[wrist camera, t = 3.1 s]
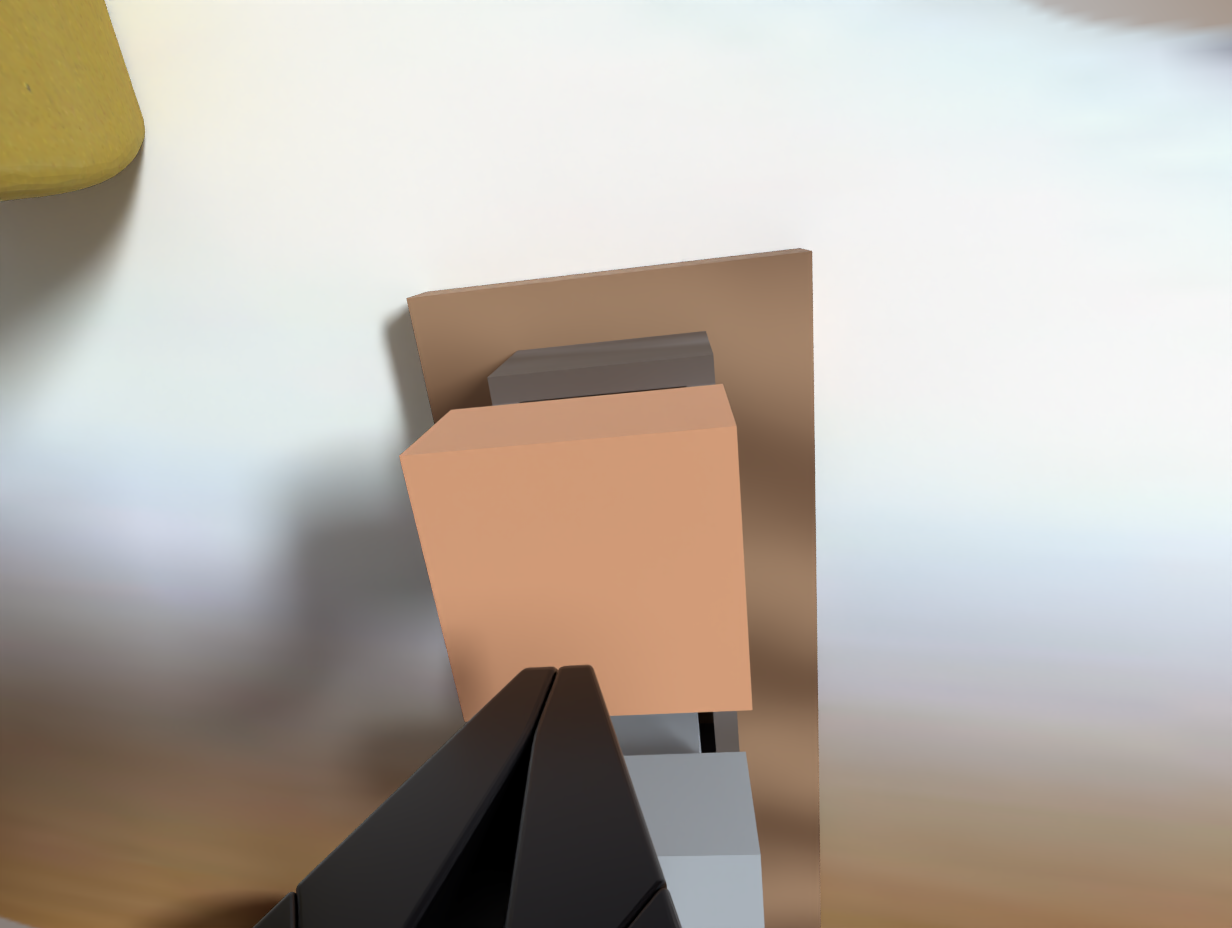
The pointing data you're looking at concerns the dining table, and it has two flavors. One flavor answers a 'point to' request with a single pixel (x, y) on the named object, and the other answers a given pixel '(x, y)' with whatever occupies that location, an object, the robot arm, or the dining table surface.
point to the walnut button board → (768, 469)
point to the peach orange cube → (589, 546)
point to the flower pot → (62, 99)
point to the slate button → (696, 819)
